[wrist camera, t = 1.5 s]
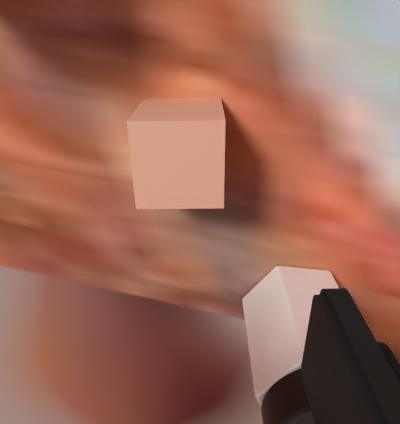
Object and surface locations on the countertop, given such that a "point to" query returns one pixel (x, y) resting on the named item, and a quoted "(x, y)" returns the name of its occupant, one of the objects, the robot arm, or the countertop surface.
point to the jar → (282, 340)
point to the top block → (178, 153)
